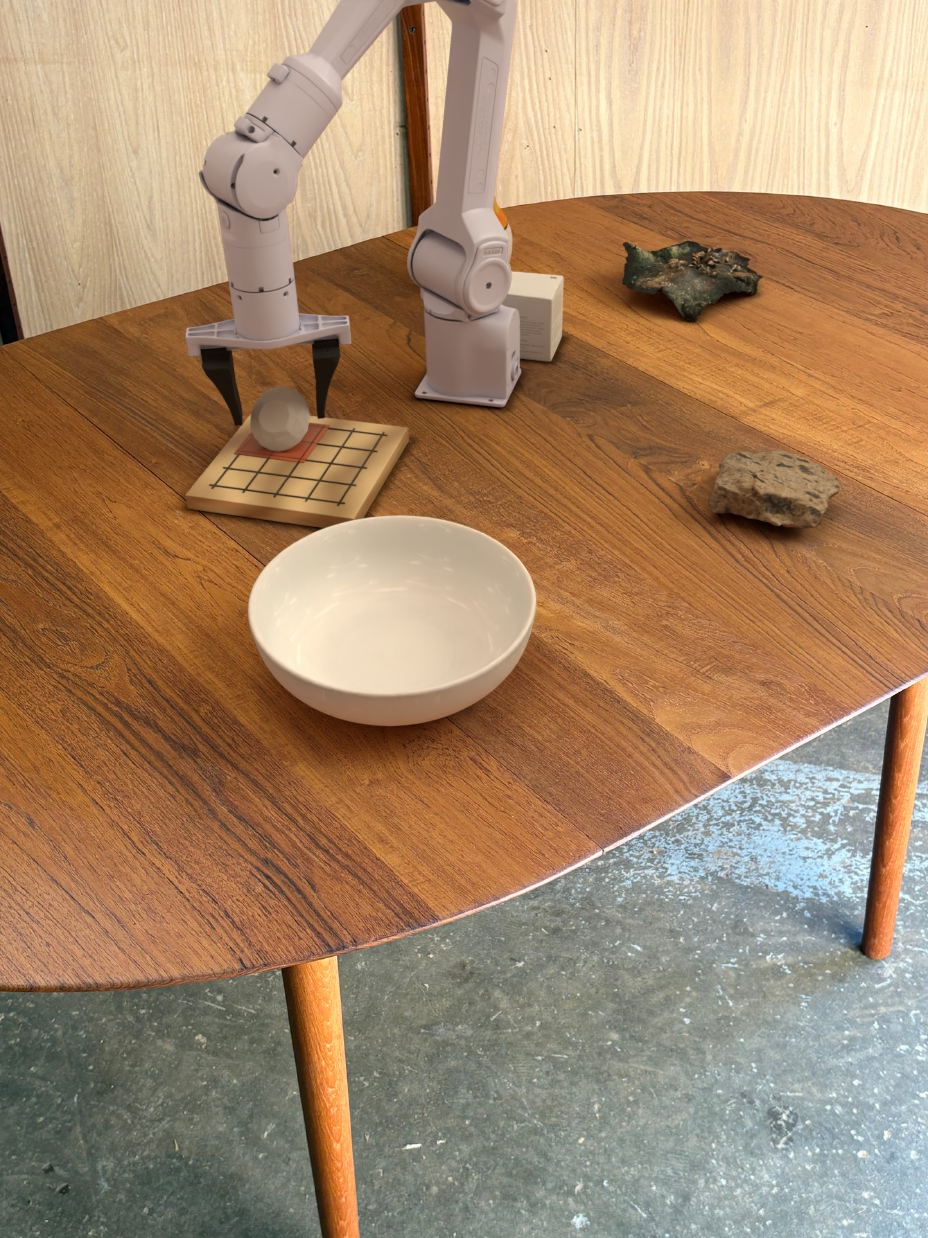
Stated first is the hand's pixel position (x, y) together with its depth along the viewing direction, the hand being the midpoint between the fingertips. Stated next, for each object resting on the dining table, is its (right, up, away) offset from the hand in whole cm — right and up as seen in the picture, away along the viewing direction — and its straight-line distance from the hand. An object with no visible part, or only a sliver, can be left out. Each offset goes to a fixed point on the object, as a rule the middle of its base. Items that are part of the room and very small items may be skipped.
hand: (280, 416), depth 115 cm
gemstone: (0, -2, +2) cm, 3 cm away
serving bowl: (+12, -23, -22) cm, 34 cm away
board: (+2, -5, 0) cm, 6 cm away
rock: (+45, -9, -6) cm, 46 cm away
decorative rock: (+44, +21, +30) cm, 58 cm away
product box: (+25, +11, +19) cm, 33 cm away
